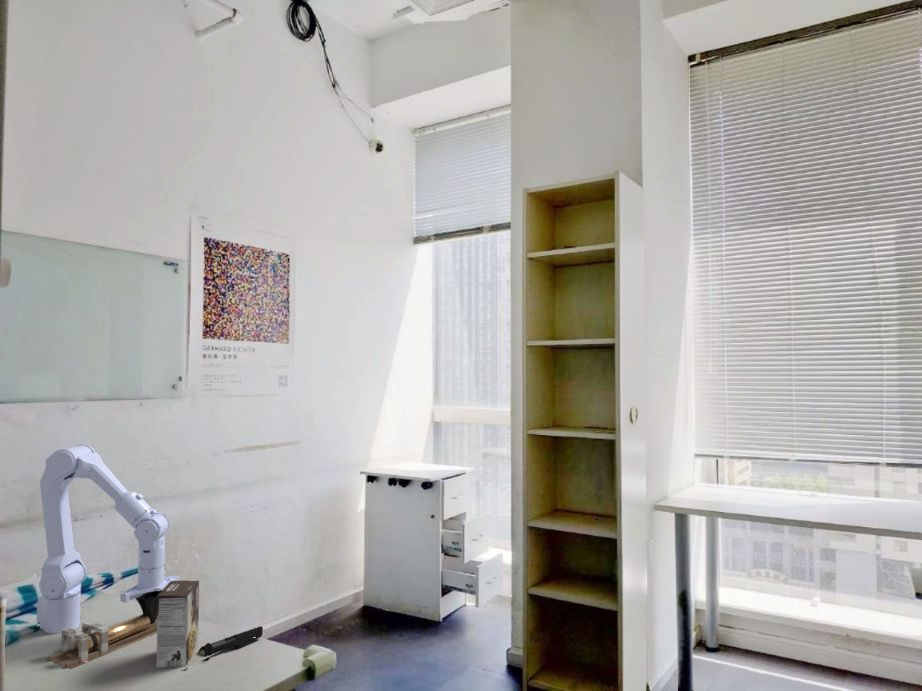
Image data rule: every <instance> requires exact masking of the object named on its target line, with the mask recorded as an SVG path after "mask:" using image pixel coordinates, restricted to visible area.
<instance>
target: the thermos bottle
mask: <svg viewBox="0 0 922 691" xmlns="http://www.w3.org/2000/svg"><path fill="white" fill-rule="evenodd" d="M149 626H150V618H149V616H148V615H147V614H143V613H142V614H139V615H137V616H134V617H132V618H129V619H126V620H123V621H121V622H118V623H116V624H113V625H110V626H108V627H109V629H108V645H109V644H111V643H114V642H116V641H118V640H121V639H123V638H126V637H128V636H131V635H133V634H136V633H138V632H141V631H143V630H146V629H148V628H149ZM73 647H74V649H75V652H76V654H77V655H78V649H79V640H78V639H75V640H74V643H73ZM96 649H99V632H97V631H94V632H91V634H89V638H88V653H89V652H92V651H94V650H96Z"/></svg>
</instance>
